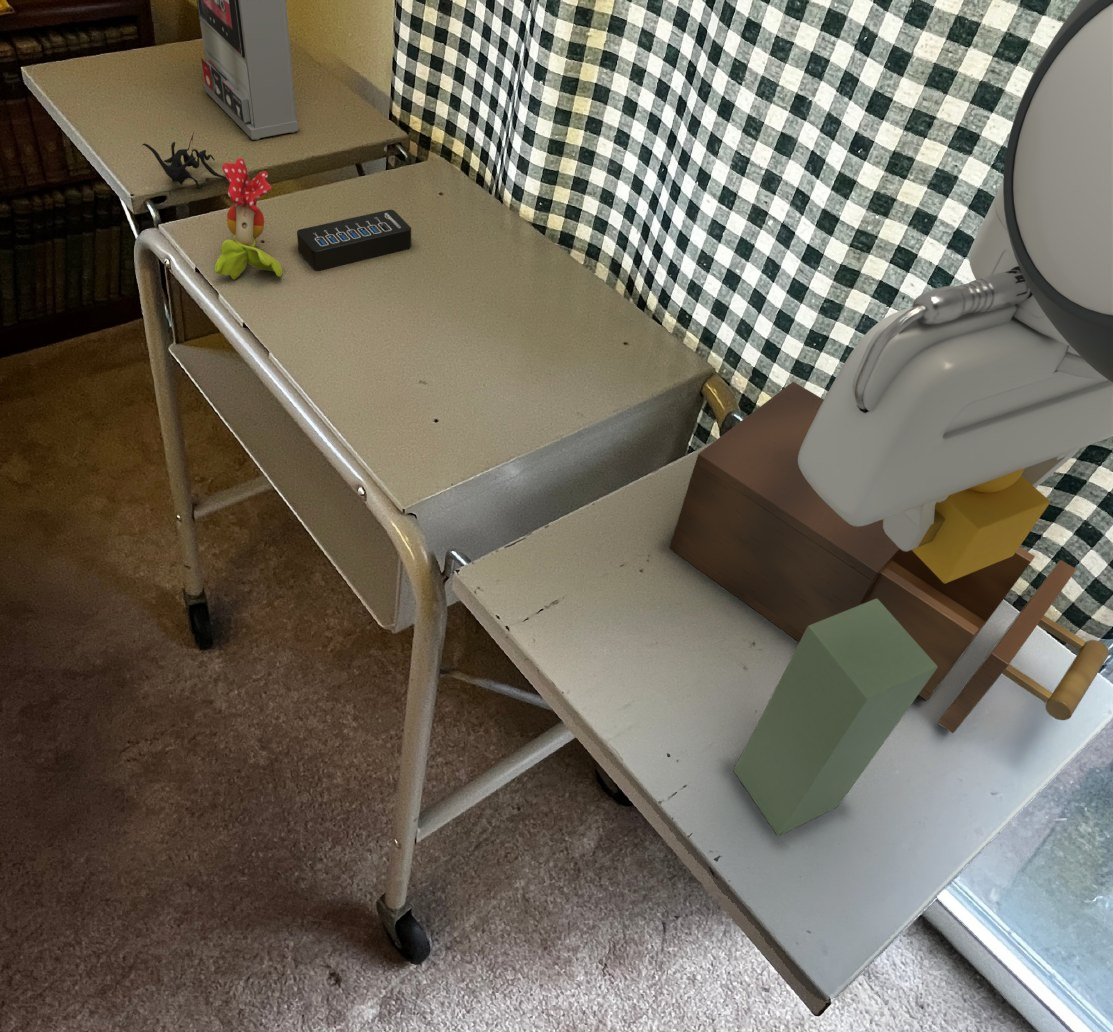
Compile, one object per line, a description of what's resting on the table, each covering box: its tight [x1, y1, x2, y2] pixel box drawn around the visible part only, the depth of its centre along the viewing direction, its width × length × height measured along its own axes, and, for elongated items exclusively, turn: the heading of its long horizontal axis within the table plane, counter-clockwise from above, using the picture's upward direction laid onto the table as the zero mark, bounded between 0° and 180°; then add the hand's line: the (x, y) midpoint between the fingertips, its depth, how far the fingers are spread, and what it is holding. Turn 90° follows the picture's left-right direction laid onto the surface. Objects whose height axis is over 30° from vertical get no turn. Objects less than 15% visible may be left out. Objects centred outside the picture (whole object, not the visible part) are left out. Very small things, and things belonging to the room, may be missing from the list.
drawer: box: [862, 546, 1110, 734], centre depth 68 cm, size 18×12×8 cm, turn 48°
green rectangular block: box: [733, 599, 938, 837], centre depth 57 cm, size 5×5×16 cm
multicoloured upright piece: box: [213, 157, 283, 281], centre depth 92 cm, size 6×11×9 cm
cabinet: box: [669, 381, 901, 643], centre depth 73 cm, size 15×13×10 cm
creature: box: [141, 131, 228, 189], centre depth 103 cm, size 8×5×8 cm
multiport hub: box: [296, 209, 412, 272], centre depth 99 cm, size 4×11×2 cm, turn 125°
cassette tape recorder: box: [196, 0, 299, 141], centre depth 108 cm, size 14×6×25 cm, turn 37°
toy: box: [882, 468, 1051, 583], centre depth 42 cm, size 5×4×6 cm
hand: (951, 519), depth 43 cm, fingers closed on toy, 4 cm apart
